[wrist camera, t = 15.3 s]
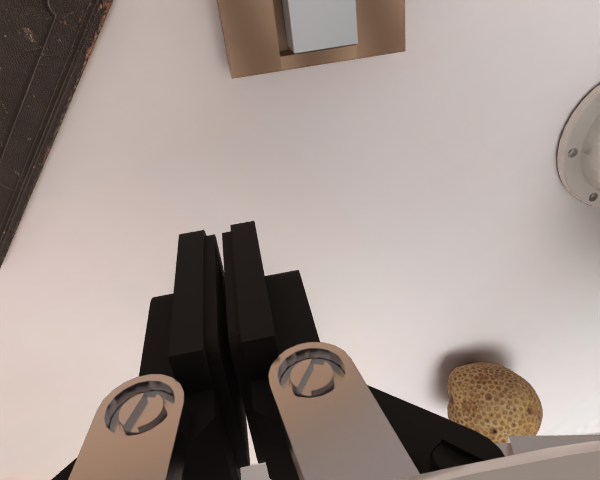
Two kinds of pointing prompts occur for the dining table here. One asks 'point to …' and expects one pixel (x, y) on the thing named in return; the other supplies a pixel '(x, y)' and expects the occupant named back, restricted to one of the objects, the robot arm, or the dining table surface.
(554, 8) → the dining table surface
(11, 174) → the hardcover book
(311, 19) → the slate key
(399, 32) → the wooden key base
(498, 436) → the natural sponge
